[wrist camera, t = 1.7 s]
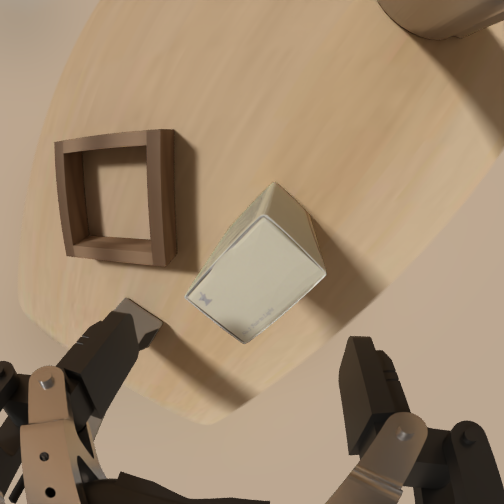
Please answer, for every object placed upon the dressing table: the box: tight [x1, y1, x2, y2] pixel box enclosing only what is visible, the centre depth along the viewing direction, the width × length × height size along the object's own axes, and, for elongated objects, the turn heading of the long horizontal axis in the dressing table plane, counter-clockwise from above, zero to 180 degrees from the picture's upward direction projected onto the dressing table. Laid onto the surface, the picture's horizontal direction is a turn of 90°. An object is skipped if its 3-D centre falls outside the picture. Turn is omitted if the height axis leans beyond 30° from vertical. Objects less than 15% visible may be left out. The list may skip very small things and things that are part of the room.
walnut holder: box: [55, 129, 177, 267], centre depth 25 cm, size 11×11×3 cm
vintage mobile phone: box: [9, 298, 163, 503], centre depth 20 cm, size 4×5×25 cm
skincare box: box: [185, 182, 327, 344], centre depth 20 cm, size 6×4×12 cm
